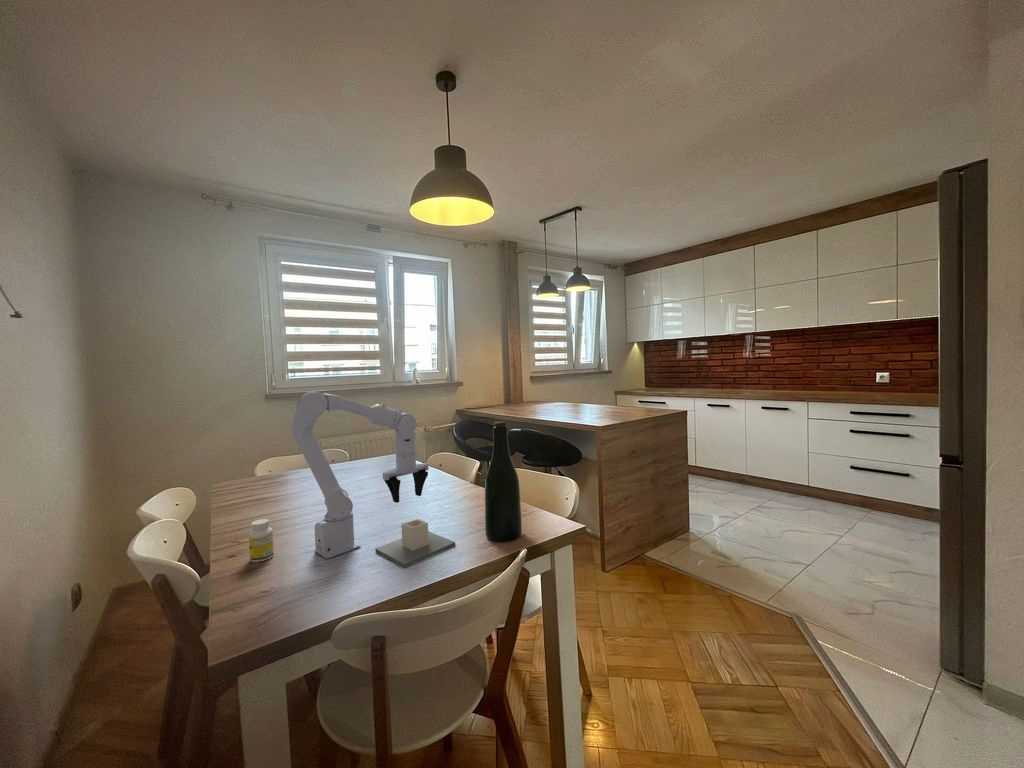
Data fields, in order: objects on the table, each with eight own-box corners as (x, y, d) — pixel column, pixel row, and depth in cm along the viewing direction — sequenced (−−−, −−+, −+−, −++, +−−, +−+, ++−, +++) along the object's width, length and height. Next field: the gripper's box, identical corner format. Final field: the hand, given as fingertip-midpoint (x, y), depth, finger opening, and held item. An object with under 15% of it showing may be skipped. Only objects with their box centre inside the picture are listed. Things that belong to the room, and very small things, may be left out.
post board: (404, 567, 98) (403, 543, 98) (375, 552, 108) (374, 530, 107) (455, 545, 110) (454, 524, 110) (425, 533, 119) (424, 513, 119)
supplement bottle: (252, 555, 108) (251, 519, 108) (275, 552, 110) (274, 516, 110) (247, 564, 103) (245, 526, 103) (271, 560, 105) (269, 523, 105)
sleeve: (412, 550, 105) (411, 528, 105) (402, 545, 109) (401, 523, 109) (428, 544, 109) (427, 522, 109) (417, 539, 112) (417, 518, 112)
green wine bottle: (528, 538, 114) (525, 422, 113) (495, 546, 108) (491, 425, 107) (510, 526, 123) (507, 418, 122) (479, 534, 118) (475, 421, 117)
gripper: (391, 459, 111) (393, 507, 112) (433, 450, 122) (435, 495, 122) (378, 456, 116) (380, 502, 116) (420, 448, 127) (422, 490, 127)
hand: (407, 498), depth 120 cm, fingers open, 7 cm apart
